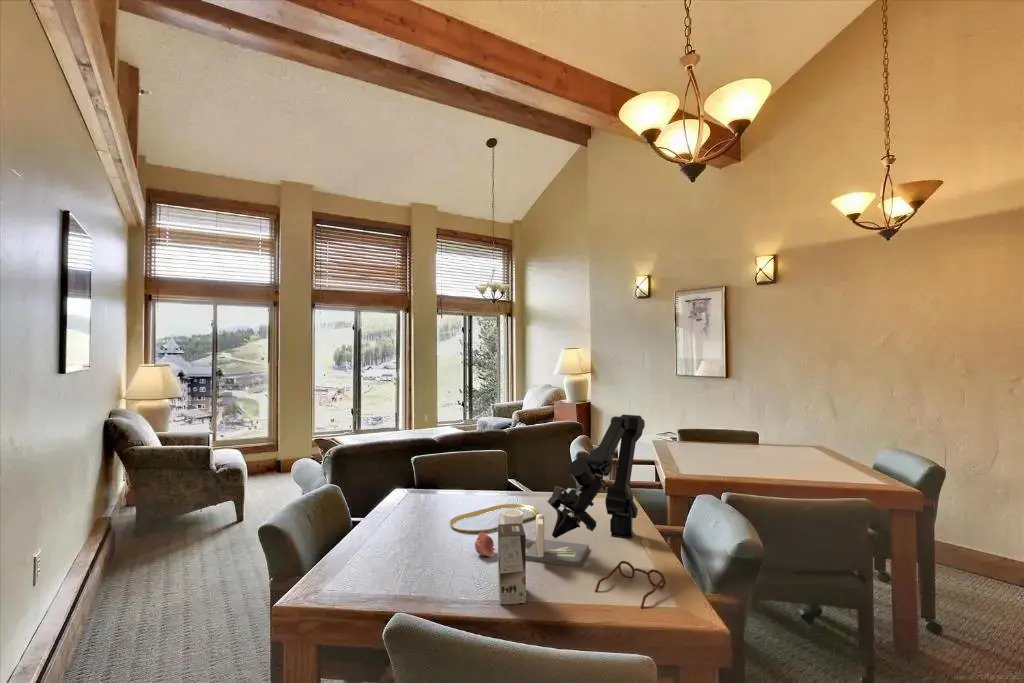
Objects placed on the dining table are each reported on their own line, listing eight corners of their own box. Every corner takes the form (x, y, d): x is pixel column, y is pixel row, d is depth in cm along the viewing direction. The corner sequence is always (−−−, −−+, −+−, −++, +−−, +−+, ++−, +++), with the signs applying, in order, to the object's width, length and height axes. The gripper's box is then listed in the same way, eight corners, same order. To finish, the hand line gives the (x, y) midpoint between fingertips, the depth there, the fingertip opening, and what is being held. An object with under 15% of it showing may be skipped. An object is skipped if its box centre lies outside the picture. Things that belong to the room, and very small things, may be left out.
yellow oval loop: (547, 516, 189) (547, 511, 189) (472, 539, 166) (472, 534, 166) (513, 505, 203) (513, 501, 203) (439, 525, 180) (439, 520, 180)
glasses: (666, 591, 129) (666, 571, 129) (641, 611, 119) (641, 589, 119) (619, 576, 137) (619, 557, 138) (593, 594, 128) (592, 573, 128)
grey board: (588, 548, 156) (588, 544, 156) (579, 566, 143) (578, 562, 143) (537, 542, 161) (537, 538, 161) (523, 559, 148) (523, 554, 148)
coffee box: (526, 604, 122) (526, 535, 122) (499, 605, 121) (499, 536, 122) (522, 586, 131) (522, 522, 131) (497, 587, 130) (497, 523, 131)
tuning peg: (535, 548, 153) (535, 512, 153) (571, 548, 152) (570, 512, 153) (536, 560, 144) (536, 522, 144) (574, 560, 143) (573, 522, 144)
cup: (512, 543, 160) (512, 517, 161) (491, 535, 168) (491, 510, 168) (528, 538, 165) (528, 512, 165) (507, 530, 173) (507, 506, 173)
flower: (465, 534, 152) (480, 525, 151) (481, 538, 158) (495, 529, 157) (472, 560, 147) (487, 551, 146) (488, 563, 153) (503, 555, 152)
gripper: (552, 469, 158) (520, 510, 153) (586, 483, 141) (552, 530, 137) (574, 491, 162) (544, 533, 157) (610, 508, 145) (577, 554, 140)
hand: (553, 536), depth 147 cm, fingers closed
